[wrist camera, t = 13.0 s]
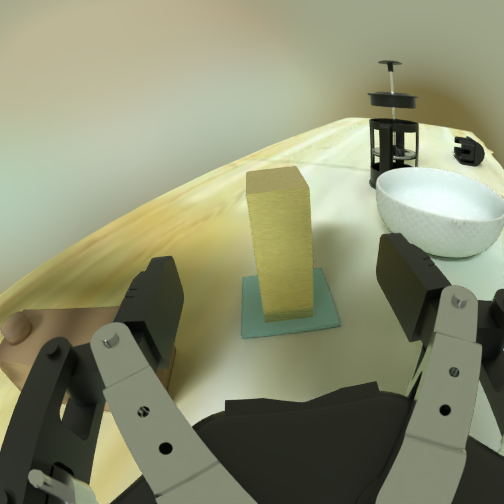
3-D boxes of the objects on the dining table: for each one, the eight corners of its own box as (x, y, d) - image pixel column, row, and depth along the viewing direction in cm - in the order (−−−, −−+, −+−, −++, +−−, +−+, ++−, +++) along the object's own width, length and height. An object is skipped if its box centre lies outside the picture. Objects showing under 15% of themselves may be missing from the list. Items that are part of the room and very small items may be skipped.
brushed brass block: (265, 322, 24) (245, 194, 18) (262, 280, 29) (246, 170, 23) (313, 316, 24) (309, 187, 18) (302, 275, 29) (295, 164, 23)
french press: (379, 174, 55) (374, 63, 43) (422, 182, 49) (420, 65, 37) (358, 190, 48) (350, 57, 36) (409, 201, 42) (408, 57, 30)
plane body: (23, 394, 18) (-16, 347, 15) (47, 346, 24) (17, 299, 21) (162, 416, 17) (123, 362, 14) (176, 349, 23) (150, 290, 20)
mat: (242, 338, 23) (241, 335, 23) (243, 280, 30) (242, 277, 30) (340, 326, 23) (340, 322, 22) (321, 271, 30) (321, 267, 29)
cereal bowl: (352, 254, 32) (353, 194, 28) (394, 204, 42) (396, 160, 38) (493, 298, 21) (514, 234, 17) (494, 230, 31) (502, 184, 27)
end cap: (483, 168, 56) (485, 144, 52) (460, 164, 59) (462, 139, 55) (474, 159, 63) (475, 137, 60) (453, 156, 66) (454, 133, 63)
